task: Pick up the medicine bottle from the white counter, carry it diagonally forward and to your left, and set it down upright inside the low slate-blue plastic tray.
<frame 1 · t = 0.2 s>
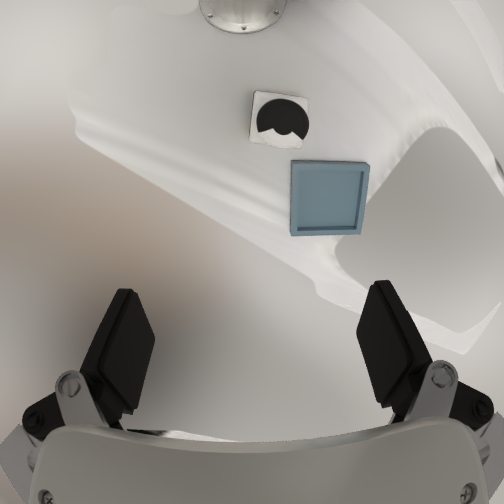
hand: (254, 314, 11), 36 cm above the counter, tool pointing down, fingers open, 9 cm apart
tray: (327, 196, 46), on the counter
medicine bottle: (274, 115, 38), on the counter
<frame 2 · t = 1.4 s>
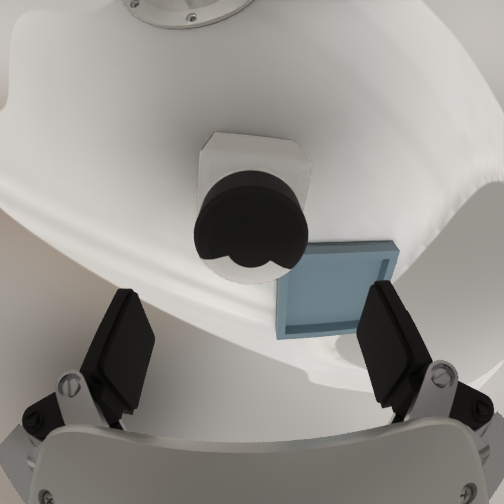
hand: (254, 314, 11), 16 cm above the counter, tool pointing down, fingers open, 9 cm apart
tray: (331, 288, 31), on the counter
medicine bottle: (250, 172, 24), on the counter
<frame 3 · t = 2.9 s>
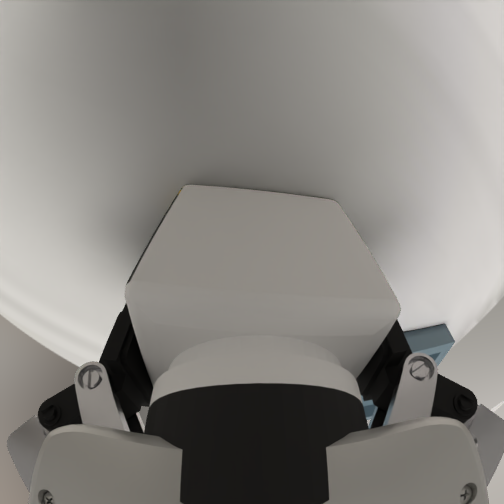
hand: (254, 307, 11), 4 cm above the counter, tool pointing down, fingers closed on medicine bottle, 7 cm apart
tray: (358, 380, 21), on the counter
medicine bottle: (253, 253, 14), on the counter, touching gripper
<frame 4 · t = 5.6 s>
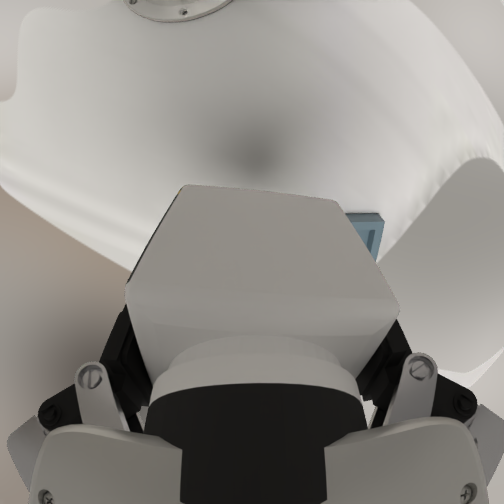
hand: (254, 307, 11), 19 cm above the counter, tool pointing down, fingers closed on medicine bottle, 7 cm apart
tray: (320, 261, 33), on the counter
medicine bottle: (252, 253, 14), point 15 cm above the counter, touching gripper
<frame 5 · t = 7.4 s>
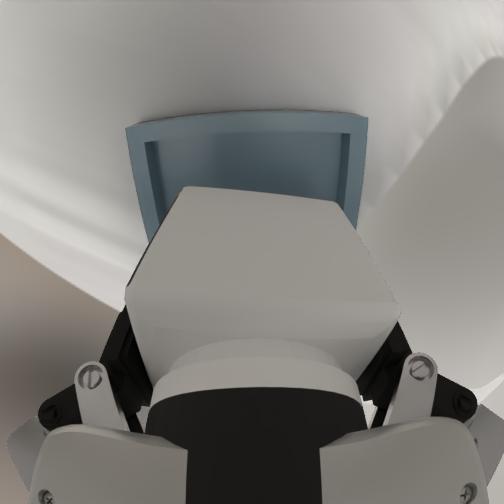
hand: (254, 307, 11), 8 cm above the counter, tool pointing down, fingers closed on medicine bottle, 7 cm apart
tray: (250, 211, 18), on the counter
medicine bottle: (253, 254, 14), point 5 cm above the counter, touching gripper
when the fingers open (5 cm above the counter, at t = 8.5 s): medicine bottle drops 1 cm, resting on tray.
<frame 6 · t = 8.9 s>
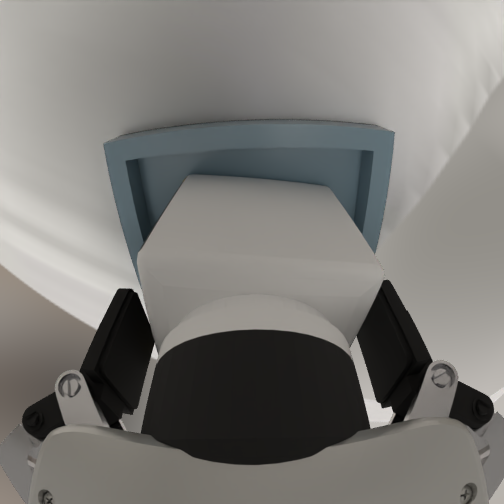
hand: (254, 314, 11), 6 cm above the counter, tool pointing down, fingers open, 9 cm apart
tray: (252, 238, 15), on the counter
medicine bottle: (252, 238, 15), resting on tray
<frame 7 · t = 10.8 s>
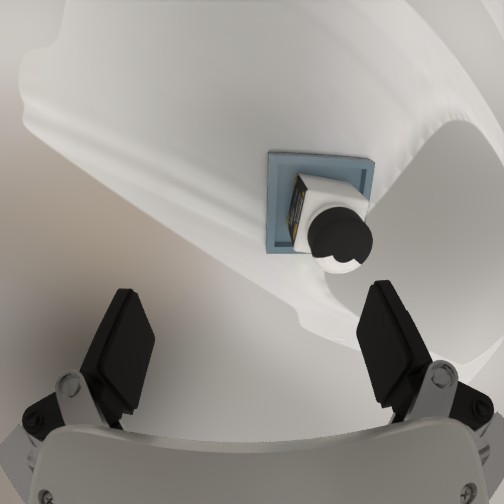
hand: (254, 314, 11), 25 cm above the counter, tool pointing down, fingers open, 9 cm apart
tray: (316, 202, 35), on the counter
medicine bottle: (317, 202, 34), resting on tray
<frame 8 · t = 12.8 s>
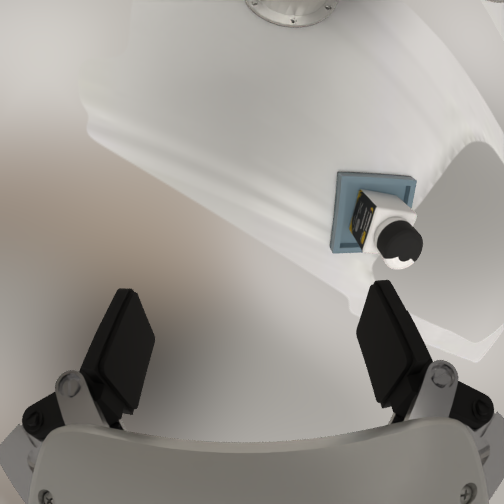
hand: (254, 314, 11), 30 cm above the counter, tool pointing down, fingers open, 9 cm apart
tray: (371, 211, 41), on the counter
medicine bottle: (372, 211, 41), resting on tray
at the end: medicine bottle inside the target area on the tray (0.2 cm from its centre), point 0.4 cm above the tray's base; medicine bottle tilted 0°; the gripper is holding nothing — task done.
